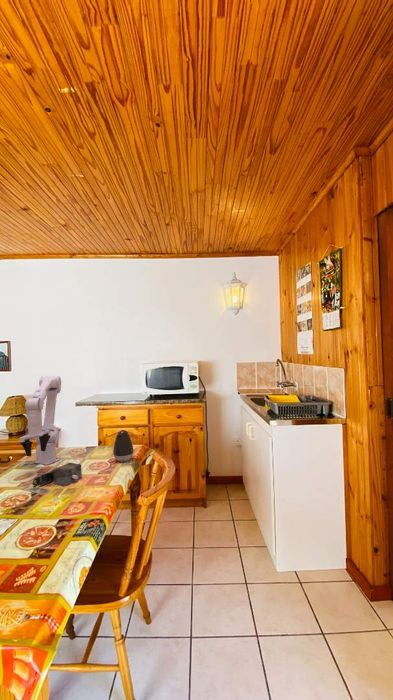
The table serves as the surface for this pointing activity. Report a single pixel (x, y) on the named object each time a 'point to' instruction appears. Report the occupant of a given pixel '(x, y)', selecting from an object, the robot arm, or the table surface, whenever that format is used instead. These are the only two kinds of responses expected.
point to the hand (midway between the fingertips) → (36, 453)
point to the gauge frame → (60, 477)
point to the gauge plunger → (50, 478)
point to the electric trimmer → (36, 481)
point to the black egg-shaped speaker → (123, 446)
